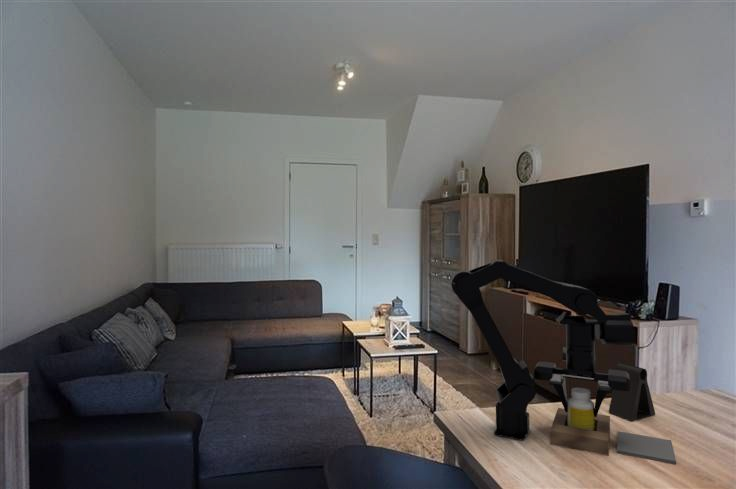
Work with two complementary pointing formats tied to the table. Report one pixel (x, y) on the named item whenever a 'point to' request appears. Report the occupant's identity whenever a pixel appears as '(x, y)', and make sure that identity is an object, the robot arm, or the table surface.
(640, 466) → the table surface
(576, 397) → the supplement bottle
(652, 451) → the coaster
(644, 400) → the phone stand
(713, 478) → the table surface
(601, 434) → the pocket holder
